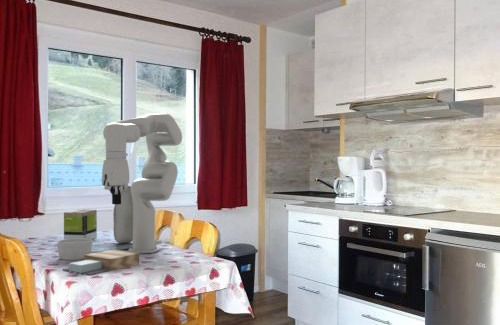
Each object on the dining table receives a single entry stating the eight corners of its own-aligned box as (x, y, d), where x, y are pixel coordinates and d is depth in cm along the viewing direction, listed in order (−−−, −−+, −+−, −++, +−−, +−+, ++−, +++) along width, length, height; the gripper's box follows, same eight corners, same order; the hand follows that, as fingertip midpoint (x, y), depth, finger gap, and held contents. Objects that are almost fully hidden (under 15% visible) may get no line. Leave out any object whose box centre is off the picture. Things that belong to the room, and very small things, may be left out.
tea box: (78, 237, 234) (79, 208, 234) (97, 238, 233) (97, 209, 233) (62, 242, 219) (63, 211, 219) (82, 243, 218) (83, 212, 218)
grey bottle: (125, 241, 224) (126, 184, 225) (139, 243, 218) (140, 185, 219) (108, 243, 216) (109, 184, 217) (122, 246, 210) (124, 185, 211)
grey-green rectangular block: (90, 266, 165) (90, 259, 165) (101, 268, 162) (102, 261, 162) (69, 270, 157) (69, 263, 157) (80, 272, 154) (80, 265, 154)
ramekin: (81, 253, 191) (81, 237, 191) (99, 258, 182) (99, 240, 182) (50, 258, 180) (51, 240, 180) (67, 262, 172) (68, 244, 172)
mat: (83, 265, 167) (83, 264, 167) (110, 270, 160) (110, 269, 160) (62, 270, 159) (62, 269, 159) (89, 275, 152) (89, 274, 152)
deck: (113, 259, 179) (113, 249, 179) (139, 263, 172) (139, 253, 172) (83, 265, 167) (84, 254, 167) (110, 270, 160) (110, 259, 160)
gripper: (123, 155, 181) (124, 201, 182) (93, 156, 168) (94, 205, 169) (137, 155, 177) (138, 202, 178) (107, 156, 164) (108, 207, 165)
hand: (116, 204), depth 173 cm, fingers closed
